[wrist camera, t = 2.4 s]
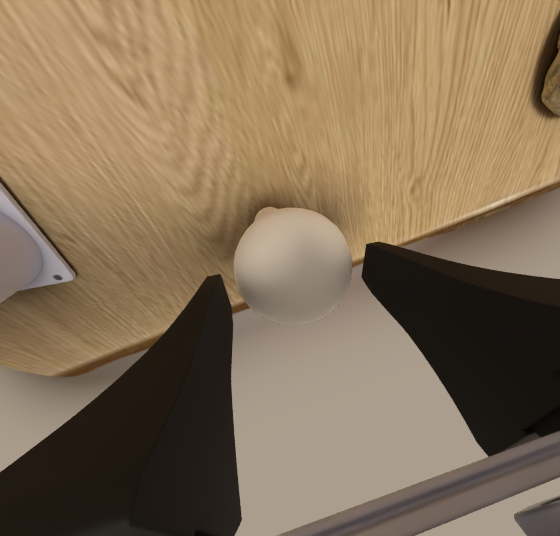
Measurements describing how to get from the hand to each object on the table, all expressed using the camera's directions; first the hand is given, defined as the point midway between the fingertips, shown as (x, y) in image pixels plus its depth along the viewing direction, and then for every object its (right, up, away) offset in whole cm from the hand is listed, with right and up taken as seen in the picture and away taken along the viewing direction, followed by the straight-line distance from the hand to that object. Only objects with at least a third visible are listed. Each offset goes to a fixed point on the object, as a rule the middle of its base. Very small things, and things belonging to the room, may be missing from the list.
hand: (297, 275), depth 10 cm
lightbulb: (-2, +5, +8) cm, 9 cm away
